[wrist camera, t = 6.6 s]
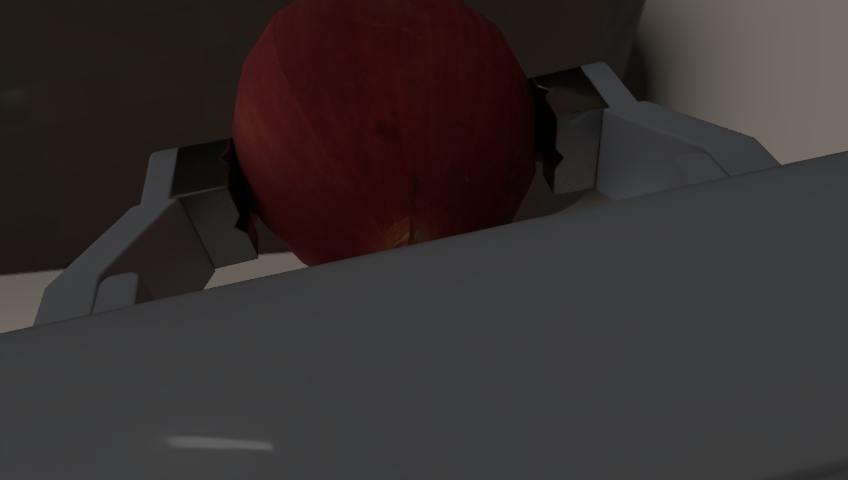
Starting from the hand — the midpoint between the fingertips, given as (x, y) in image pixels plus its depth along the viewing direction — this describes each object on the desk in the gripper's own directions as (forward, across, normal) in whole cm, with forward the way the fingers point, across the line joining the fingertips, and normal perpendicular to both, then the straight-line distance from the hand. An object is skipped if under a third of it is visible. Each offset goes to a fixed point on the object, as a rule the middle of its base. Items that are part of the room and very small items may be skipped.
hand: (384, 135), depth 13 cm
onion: (+4, 0, 0) cm, 4 cm away
